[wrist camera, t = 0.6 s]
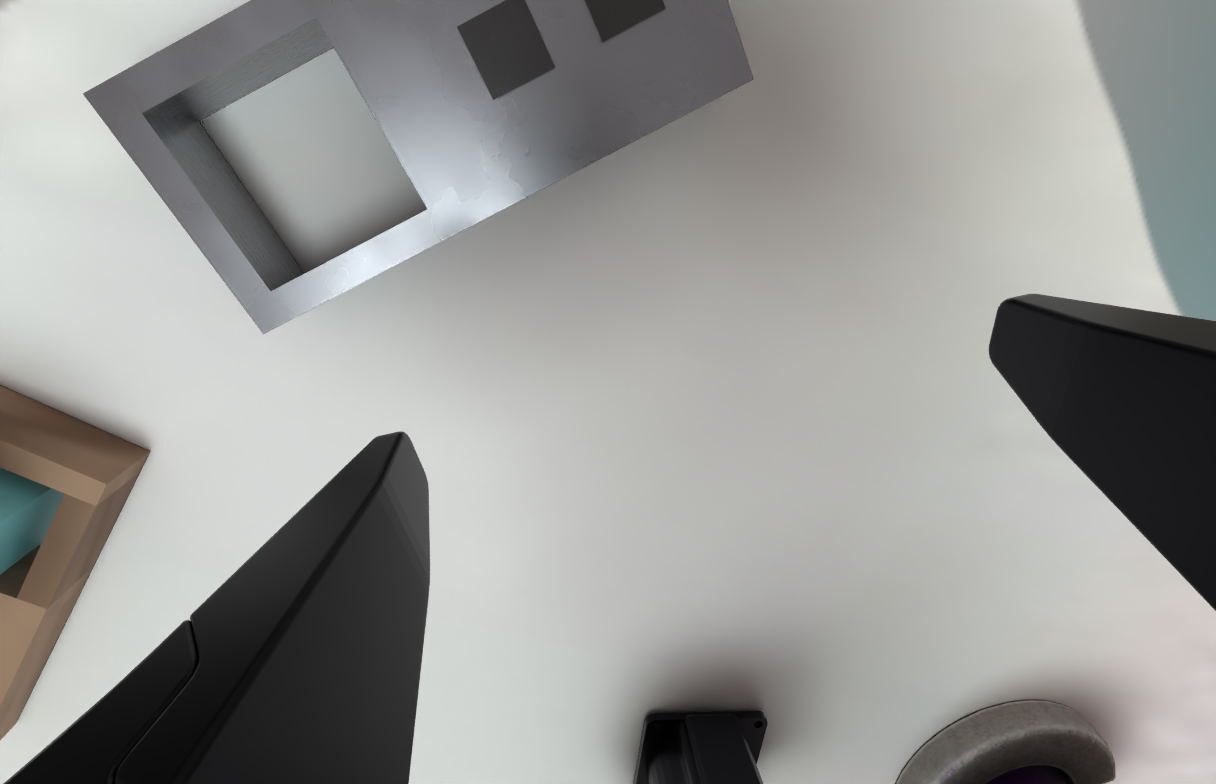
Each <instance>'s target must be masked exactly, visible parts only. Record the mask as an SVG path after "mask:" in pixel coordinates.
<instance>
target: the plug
mask: <svg viewBox="0 0 1216 784" xmlns="http://www.w3.org/2000/svg"><path fill="white" fill-rule="evenodd" d="M64 494H65V493H62V492H60V491H57V490H55V489H52V488H50V487H47V486H45V485H42V484H40V483H38V482H35V481H33V480H30V479H28V478H25V477H23V476H20V475H18V474H15V473H13V472H10V471H8V470H5V469H3V468H1V467H0V575H1V574H2V573H3V572H4V571H6V570H7V569H8V568H10V567H11V566H12V565H13V564H15V563H16V562H17V561H19V560H20V559H21V558H23V557H24V556H25V555H26V554H28V553H29V552H30V551H32V550H33V549H34V548H36V547H37V546H38V545H39V544H41V543H42V542H43V540H44V537H45V535H46V533H47V531H48V529H49V527H50V524H51V522H52V520H53V518H54V516H55V513H56V511H57V509H58V507H59V505H60V503H61V500H62V498H63V496H64Z"/></svg>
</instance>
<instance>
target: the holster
mask: <svg viewBox="0 0 1216 784" xmlns="http://www.w3.org/2000/svg"><path fill="white" fill-rule="evenodd" d="M149 453H150V451H148V450H145V449H143V448H141V447H139V446H136V445H134V444H132V443H130V442H127V441H125V440H123V439H120V438H118V437H116V436H114V435H111V434H109V433H107V432H105V431H102V430H100V429H98V428H96V427H93V426H91V425H89V424H86V423H84V422H82V421H80V420H77V419H75V418H73V417H71V416H68V415H66V414H64V413H62V412H59V411H57V410H55V409H52V408H50V407H48V406H46V405H43V404H41V403H39V402H37V401H34V400H32V399H30V398H28V397H25V396H23V395H21V394H18V393H16V392H14V391H12V390H9V389H7V388H5V387H3V386H0V467H1V468H3V469H5V470H8V471H10V472H13V473H15V474H18V475H20V476H23V477H25V478H28V479H30V480H33V481H35V482H38V483H40V484H42V485H45V486H47V487H50V488H52V489H55V490H57V491H60V492H62V493H65V494H64V496H63V498H62V500H61V503H60V505H59V507H58V509H57V511H56V513H55V516H54V518H53V520H52V522H51V524H50V527H49V529H48V531H47V533H46V535H45V537H44V540H43V542H42V544H41V546H37V547H36V548H34V549H33V550H32V551H30V552H29V553H28V554H26V555H25V556H24V557H23V558H21V559H20V560H19V561H17V562H16V563H15V564H13V565H12V566H11V567H10V568H8V569H7V570H6V571H4V572H3V573H2V574H1V575H0V740H1V739H2V738H3V737H4V736H5V735H6V734H7V733H8V731H9V730H10V729H11V728H12V727H13V726H14V725H15V724H16V723H17V721H18V719H19V716H20V714H21V712H22V710H23V708H24V706H25V704H26V702H27V700H28V698H29V696H30V694H31V692H32V690H33V688H34V686H35V684H36V682H37V680H38V678H39V676H40V674H41V672H42V670H43V668H44V666H45V664H46V662H47V660H48V658H49V656H50V654H51V652H52V650H53V648H54V646H55V644H56V642H57V639H58V637H59V635H60V633H61V631H62V629H63V627H64V625H65V623H66V621H67V619H68V617H69V615H70V613H71V611H72V609H73V607H74V605H75V603H76V601H77V599H78V597H79V595H80V593H81V591H82V589H83V587H84V585H85V583H86V581H87V579H88V577H89V575H90V573H91V571H92V569H93V567H94V564H95V562H96V560H97V558H98V556H99V554H100V552H101V550H102V548H103V546H104V544H105V542H106V540H107V538H108V536H109V534H110V532H111V530H112V528H113V526H114V524H115V522H116V520H117V518H118V516H119V514H120V512H121V510H122V508H123V506H124V504H125V502H126V500H127V498H128V496H129V494H130V492H131V489H132V487H133V485H134V483H135V481H136V479H137V477H138V475H139V473H140V471H141V469H142V467H143V465H144V463H145V461H146V459H147V457H148V455H149Z"/></svg>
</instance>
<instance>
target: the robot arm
mask: <svg viewBox="0 0 1216 784" xmlns="http://www.w3.org/2000/svg"><path fill="white" fill-rule="evenodd" d="M989 355H990V359H991V361H992V363H993V365H994V366H995V367H996V369H997V370H998V371H999V372H1000V374H1001V375H1002V376H1003V378H1004V379H1005V380H1006V381H1007V383H1008V384H1009V385H1010V387H1011V388H1012V389H1013V390H1014V392H1015V393H1016V394H1017V396H1018V397H1019V398H1020V399H1021V401H1022V402H1023V403H1024V405H1025V406H1026V407H1027V408H1028V410H1029V411H1030V412H1031V414H1032V415H1033V416H1034V417H1035V419H1036V420H1037V421H1038V423H1039V424H1040V425H1041V426H1042V428H1043V429H1044V430H1045V431H1046V433H1047V434H1048V435H1049V436H1050V437H1051V439H1052V440H1053V441H1054V442H1055V443H1056V444H1057V445H1058V446H1059V447H1060V448H1061V449H1062V451H1063V452H1064V453H1065V454H1066V455H1067V456H1068V457H1069V458H1070V459H1071V460H1072V461H1073V462H1074V463H1075V464H1076V465H1077V466H1078V467H1079V468H1080V469H1081V470H1082V471H1083V473H1084V474H1085V475H1086V476H1087V477H1088V478H1089V479H1090V480H1091V481H1092V482H1093V483H1094V484H1095V485H1096V486H1097V487H1098V488H1099V489H1100V490H1101V491H1102V492H1103V493H1104V494H1105V496H1106V497H1107V498H1108V499H1109V500H1110V501H1111V502H1112V503H1113V504H1114V505H1115V506H1116V507H1117V508H1118V509H1119V510H1120V511H1121V512H1122V513H1123V514H1124V515H1125V516H1126V517H1127V519H1128V520H1129V521H1130V522H1131V523H1132V524H1133V525H1134V526H1135V527H1136V528H1137V529H1138V530H1139V531H1140V532H1141V533H1142V534H1143V535H1144V536H1145V537H1146V538H1147V539H1148V540H1149V542H1150V543H1151V544H1152V545H1153V546H1154V547H1155V548H1156V549H1157V550H1158V551H1159V552H1160V553H1161V554H1162V555H1163V556H1164V557H1165V558H1166V559H1167V560H1168V561H1169V562H1170V563H1171V565H1172V566H1173V567H1174V568H1175V569H1176V570H1177V571H1178V572H1179V573H1180V574H1181V575H1182V576H1183V577H1184V578H1185V579H1186V580H1187V581H1188V582H1189V583H1190V584H1191V585H1192V587H1193V588H1194V589H1195V590H1196V591H1197V592H1198V593H1199V594H1200V595H1201V596H1202V597H1203V598H1204V599H1205V600H1206V601H1207V602H1208V603H1209V604H1210V605H1211V606H1212V607H1213V608H1214V610H1215V611H1216V321H1210V320H1204V319H1197V318H1191V317H1184V316H1178V315H1171V314H1165V313H1158V312H1151V311H1145V310H1138V309H1132V308H1125V307H1118V306H1112V305H1105V304H1099V303H1092V302H1086V301H1079V300H1072V299H1066V298H1059V297H1053V296H1046V295H1040V294H1027V295H1022V296H1018V297H1013V298H1009V299H1006V300H1005V301H1003V302H1002V303H1001V304H1000V306H999V307H998V310H997V314H996V318H995V323H994V327H993V331H992V335H991V340H990V344H989ZM429 585H430V540H429V490H428V482H427V477H426V474H425V472H424V469H423V467H422V465H421V462H420V460H419V458H418V456H417V453H416V451H415V449H414V446H413V444H412V442H411V440H410V438H409V436H408V435H407V434H406V433H405V432H395V433H391V434H386V435H381V436H378V437H376V438H374V439H373V440H372V441H371V442H370V443H369V444H368V445H367V446H366V447H365V448H364V449H363V450H362V451H361V452H360V453H359V454H358V455H356V456H355V457H354V458H353V459H352V460H351V461H350V462H349V463H348V464H347V465H346V466H345V467H344V468H343V469H342V470H341V471H340V472H339V473H338V474H337V475H336V476H335V477H334V478H333V479H332V480H331V481H330V482H328V483H327V484H326V485H325V486H324V487H323V488H322V489H321V490H320V491H319V492H318V493H317V494H316V495H315V496H314V497H313V498H312V499H311V500H310V501H309V502H308V503H307V504H306V505H305V506H304V507H302V508H301V509H300V510H299V511H298V512H297V513H296V514H295V515H294V516H293V517H292V518H291V519H290V520H289V521H288V522H287V523H286V524H285V525H284V526H283V527H282V528H281V529H280V530H279V531H278V532H277V533H275V534H274V535H273V536H272V537H271V538H270V539H269V540H268V541H267V542H266V543H265V544H264V545H263V546H262V547H261V548H260V549H259V550H258V551H257V552H256V553H255V554H254V555H253V556H252V557H251V558H249V559H248V560H247V561H246V562H245V563H244V564H243V565H242V566H241V567H240V568H239V569H238V570H237V571H236V572H235V573H234V574H233V575H232V576H231V577H230V578H229V579H228V580H227V581H226V582H225V583H223V584H222V585H221V586H220V587H219V588H218V589H217V590H216V591H215V592H214V593H213V594H212V595H211V596H210V597H209V598H208V599H207V600H206V601H205V602H204V603H203V604H202V605H201V606H200V607H199V608H198V609H196V610H195V611H194V612H193V613H192V614H191V616H190V620H191V621H190V620H186V621H184V622H183V623H182V624H181V625H180V626H179V627H178V628H177V629H176V630H175V631H173V632H172V633H171V634H170V635H169V636H168V637H167V638H166V639H165V640H164V641H163V642H162V643H161V644H160V645H159V646H158V647H157V648H156V649H155V650H154V651H153V652H152V653H150V654H149V655H148V656H147V657H146V658H145V659H144V660H143V661H142V662H141V663H140V664H139V665H138V666H137V667H135V668H134V669H133V670H132V671H131V672H130V673H129V674H128V675H127V676H126V677H125V678H124V679H123V680H122V681H120V682H119V683H118V684H117V685H116V686H115V687H114V688H113V689H112V690H111V691H110V692H108V693H107V694H106V695H105V696H104V697H103V698H102V699H100V700H99V701H98V702H97V703H96V704H95V705H94V706H92V707H91V708H90V709H89V710H88V711H87V712H86V713H85V714H83V715H82V716H81V717H80V718H79V719H78V720H77V721H75V722H74V723H73V724H72V725H71V726H70V727H69V728H67V729H66V730H65V731H64V732H63V733H62V734H61V735H60V736H58V737H57V738H56V739H55V740H54V741H53V742H51V743H50V744H49V745H48V746H47V747H46V748H44V749H43V750H42V751H41V752H40V753H39V754H37V755H36V756H35V757H34V758H33V759H32V760H31V761H29V762H28V763H27V764H26V765H25V766H24V767H22V768H21V769H20V770H19V771H18V772H17V773H15V774H14V775H13V776H12V777H11V778H10V779H9V780H7V781H6V782H5V783H4V784H408V782H409V773H410V764H411V754H412V745H413V736H414V727H415V717H416V708H417V699H418V690H419V680H420V671H421V662H422V653H423V643H424V634H425V625H426V616H427V606H428V597H429ZM766 727H767V720H766V717H765V715H764V713H763V712H761V711H731V712H685V713H653V714H650V715H648V716H647V717H646V718H645V721H644V726H643V732H642V738H641V744H640V749H639V755H638V761H637V767H636V772H635V778H634V784H763V781H762V779H761V776H760V773H759V771H758V768H757V765H756V764H757V761H758V757H759V753H760V750H761V746H762V742H763V738H764V735H765V731H766Z"/></svg>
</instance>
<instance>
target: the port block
mask: <svg viewBox="0 0 1216 784" xmlns="http://www.w3.org/2000/svg"><path fill="white" fill-rule="evenodd" d="M333 47H334V49H335V50H336V52H337V54H338V56H339V57H340V59H341V61H342V62H343V64H344V66H345V68H346V69H347V71H348V73H349V75H350V76H351V78H352V80H353V81H354V83H355V85H356V87H357V88H358V90H359V92H360V94H361V95H362V97H363V99H364V100H365V102H366V104H367V106H368V107H369V109H370V111H371V112H372V114H373V116H374V118H375V119H376V121H377V123H378V125H379V126H380V128H381V130H382V131H383V133H384V135H385V137H386V138H387V140H388V142H389V144H390V145H391V147H392V149H393V150H394V152H395V154H396V156H397V157H398V159H399V161H400V163H401V164H402V166H403V168H404V169H405V171H406V173H407V175H408V176H409V178H410V180H411V182H412V183H413V185H414V187H415V188H416V190H417V192H418V194H419V195H420V197H421V199H422V201H423V202H424V204H425V206H426V207H427V210H425V211H423V212H421V213H419V214H418V215H416V216H414V217H412V218H410V219H408V220H406V221H404V222H402V223H400V224H398V225H397V226H395V227H393V228H391V229H389V230H387V231H385V232H383V233H381V234H379V235H377V236H376V237H374V238H372V239H370V240H368V241H366V242H364V243H362V244H360V245H358V246H356V247H355V248H353V249H351V250H349V251H347V252H345V253H343V254H341V255H339V256H337V257H336V258H334V259H332V260H330V261H328V262H326V263H324V264H322V265H320V266H318V267H316V268H315V269H313V270H311V271H309V272H307V273H305V274H304V273H303V271H302V270H301V268H300V267H299V266H298V264H297V263H296V261H295V260H294V258H293V257H292V255H291V254H290V253H289V251H288V250H287V248H286V247H285V245H284V244H283V242H282V241H281V240H280V238H279V237H278V235H277V234H276V232H275V231H274V229H273V228H272V226H271V225H270V224H269V222H268V221H267V219H266V218H265V216H264V215H263V213H262V212H261V211H260V209H259V208H258V206H257V205H256V203H255V202H254V200H253V199H252V198H251V196H250V195H249V193H248V192H247V190H246V189H245V187H244V186H243V185H242V183H241V182H240V180H239V179H238V177H237V176H236V174H235V173H234V171H233V170H232V169H231V167H230V166H229V164H228V163H227V161H226V160H225V158H224V157H223V156H222V154H221V153H220V151H219V150H218V148H217V147H216V145H215V144H214V143H213V141H212V140H211V138H210V137H209V135H208V134H207V132H206V131H205V129H204V128H203V127H202V125H201V124H200V122H199V121H200V120H201V119H203V118H205V117H207V116H209V115H211V114H212V113H214V112H216V111H218V110H220V109H222V108H223V107H225V106H227V105H229V104H231V103H233V102H234V101H236V100H238V99H240V98H242V97H243V96H245V95H247V94H249V93H251V92H253V91H254V90H256V89H258V88H260V87H262V86H264V85H265V84H267V83H269V82H271V81H273V80H275V79H276V78H278V77H280V76H282V75H284V74H286V73H287V72H289V71H291V70H293V69H295V68H297V67H298V66H300V65H302V64H304V63H306V62H308V61H309V60H311V59H313V58H315V57H317V56H319V55H320V54H322V53H324V52H326V51H328V50H330V49H331V48H333ZM751 80H753V76H752V73H751V70H750V67H749V64H748V61H747V58H746V55H745V52H744V49H743V46H742V43H741V40H740V37H739V34H738V31H737V28H736V25H735V22H734V19H733V16H732V13H731V10H730V7H729V4H728V1H727V0H251V1H249V2H247V3H245V4H243V5H242V6H240V7H238V8H236V9H234V10H233V11H231V12H229V13H227V14H225V15H224V16H222V17H220V18H218V19H216V20H215V21H213V22H211V23H209V24H207V25H206V26H204V27H202V28H200V29H198V30H197V31H195V32H193V33H191V34H189V35H188V36H186V37H184V38H182V39H180V40H179V41H177V42H175V43H173V44H171V45H170V46H168V47H166V48H164V49H162V50H161V51H159V52H157V53H155V54H153V55H152V56H150V57H148V58H146V59H144V60H143V61H141V62H139V63H137V64H135V65H134V66H132V67H130V68H128V69H126V70H125V71H123V72H121V73H119V74H117V75H116V76H114V77H112V78H110V79H108V80H107V81H105V82H103V83H101V84H99V85H98V86H96V87H94V88H92V89H90V90H89V91H87V92H85V93H83V94H84V96H85V97H86V98H87V100H88V101H89V102H90V104H91V105H92V106H93V108H94V109H95V110H96V112H97V113H98V114H99V116H100V117H101V118H102V120H103V121H104V122H105V124H106V125H107V126H108V128H109V129H110V130H111V132H112V133H113V134H114V136H115V137H116V138H117V140H118V141H119V142H120V144H121V145H122V146H123V148H124V149H125V150H126V152H127V153H128V154H129V156H130V157H131V158H132V160H133V161H134V162H135V164H136V165H137V166H138V168H139V169H140V170H141V172H142V173H143V174H144V176H145V177H146V178H147V180H148V181H149V182H150V184H151V185H152V186H153V188H154V189H155V190H156V192H157V193H158V194H159V196H160V197H161V198H162V200H163V201H164V202H165V204H166V205H167V206H168V208H169V209H170V210H171V212H172V213H173V214H174V216H175V217H176V218H177V220H178V221H179V222H180V224H181V225H182V226H183V228H184V229H185V230H186V232H187V233H188V234H189V236H190V237H191V238H192V240H193V241H194V242H195V244H196V245H197V246H198V248H199V249H200V250H201V252H202V253H203V254H204V256H205V257H206V258H207V260H208V261H209V262H210V264H211V265H212V266H213V268H214V269H215V270H216V272H217V273H218V274H219V276H220V277H221V278H222V280H223V281H224V282H225V284H226V285H227V286H228V288H229V289H230V290H231V292H232V293H233V294H234V296H235V297H236V298H237V300H238V301H239V302H240V304H241V305H242V306H243V308H244V309H245V310H246V312H247V313H248V314H249V316H250V317H251V318H252V320H253V321H254V322H255V324H256V325H257V326H258V328H259V329H260V330H261V332H262V333H263V334H265V333H266V332H268V331H270V330H272V329H274V328H276V327H278V326H280V325H282V324H284V323H286V322H288V321H290V320H291V319H293V318H295V317H297V316H299V315H301V314H303V313H305V312H307V311H309V310H311V309H313V308H315V307H316V306H318V305H320V304H322V303H324V302H326V301H328V300H330V299H332V298H334V297H336V296H338V295H340V294H341V293H343V292H345V291H347V290H349V289H351V288H353V287H355V286H357V285H359V284H361V283H363V282H365V281H366V280H368V279H370V278H372V277H374V276H376V275H378V274H380V273H382V272H384V271H386V270H388V269H390V268H391V267H393V266H395V265H397V264H399V263H401V262H403V261H405V260H407V259H409V258H411V257H413V256H415V255H416V254H418V253H420V252H422V251H424V250H426V249H428V248H430V247H432V246H434V245H436V244H438V243H440V242H441V241H443V240H445V239H447V238H449V237H451V236H453V235H455V234H457V233H459V232H461V231H463V230H465V229H466V228H468V227H470V226H472V225H474V224H476V223H478V222H480V221H482V220H484V219H486V218H488V217H490V216H491V215H493V214H495V213H497V212H499V211H501V210H503V209H505V208H507V207H509V206H511V205H513V204H515V203H516V202H518V201H520V200H522V199H524V198H526V197H528V196H530V195H532V194H534V193H536V192H538V191H540V190H541V189H543V188H545V187H547V186H549V185H551V184H553V183H555V182H557V181H559V180H561V179H563V178H565V177H566V176H568V175H570V174H572V173H574V172H576V171H578V170H580V169H582V168H584V167H586V166H588V165H590V164H591V163H593V162H595V161H597V160H599V159H601V158H603V157H605V156H607V155H609V154H611V153H613V152H615V151H616V150H618V149H620V148H622V147H624V146H626V145H628V144H630V143H632V142H634V141H636V140H638V139H640V138H641V137H643V136H645V135H647V134H649V133H651V132H653V131H655V130H657V129H659V128H661V127H663V126H665V125H666V124H668V123H670V122H672V121H674V120H676V119H678V118H680V117H682V116H684V115H686V114H688V113H690V112H691V111H693V110H695V109H697V108H699V107H701V106H703V105H705V104H707V103H709V102H711V101H713V100H715V99H716V98H718V97H720V96H722V95H724V94H726V93H728V92H730V91H732V90H734V89H736V88H738V87H740V86H741V85H743V84H745V83H747V82H749V81H751Z"/></svg>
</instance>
